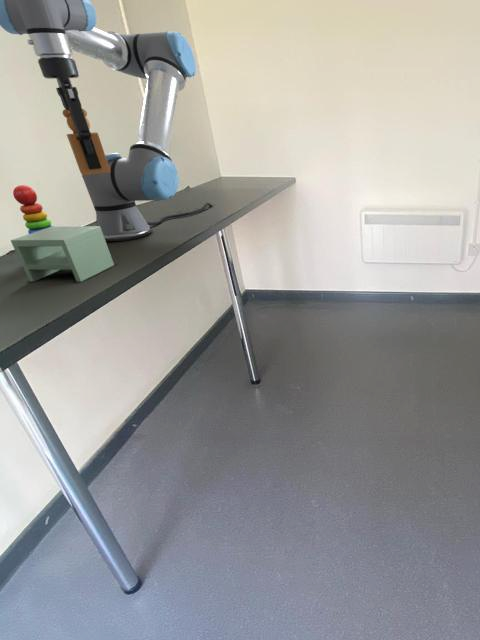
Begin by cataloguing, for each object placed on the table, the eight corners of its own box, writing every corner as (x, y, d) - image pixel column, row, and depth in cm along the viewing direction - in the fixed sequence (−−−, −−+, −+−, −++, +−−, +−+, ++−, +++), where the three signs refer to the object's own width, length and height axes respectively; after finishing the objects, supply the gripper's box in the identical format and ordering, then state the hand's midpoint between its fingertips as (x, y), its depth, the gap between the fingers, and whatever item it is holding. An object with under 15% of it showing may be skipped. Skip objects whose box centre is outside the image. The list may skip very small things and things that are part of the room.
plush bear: (80, 173, 125) (57, 109, 118) (107, 170, 128) (86, 108, 121) (83, 175, 121) (59, 109, 114) (111, 172, 124) (89, 108, 117)
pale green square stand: (67, 265, 129) (50, 226, 124) (114, 265, 127) (100, 226, 122) (29, 281, 118) (10, 240, 113) (81, 281, 116) (63, 239, 111)
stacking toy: (63, 250, 142) (34, 181, 132) (73, 254, 138) (44, 183, 128) (33, 257, 137) (0, 186, 127) (43, 261, 133) (10, 188, 123)
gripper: (34, 60, 116) (73, 166, 129) (38, 54, 104) (81, 172, 116) (69, 60, 120) (104, 163, 132) (78, 54, 107) (115, 169, 120)
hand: (93, 167), depth 124 cm, fingers closed on plush bear, 5 cm apart
